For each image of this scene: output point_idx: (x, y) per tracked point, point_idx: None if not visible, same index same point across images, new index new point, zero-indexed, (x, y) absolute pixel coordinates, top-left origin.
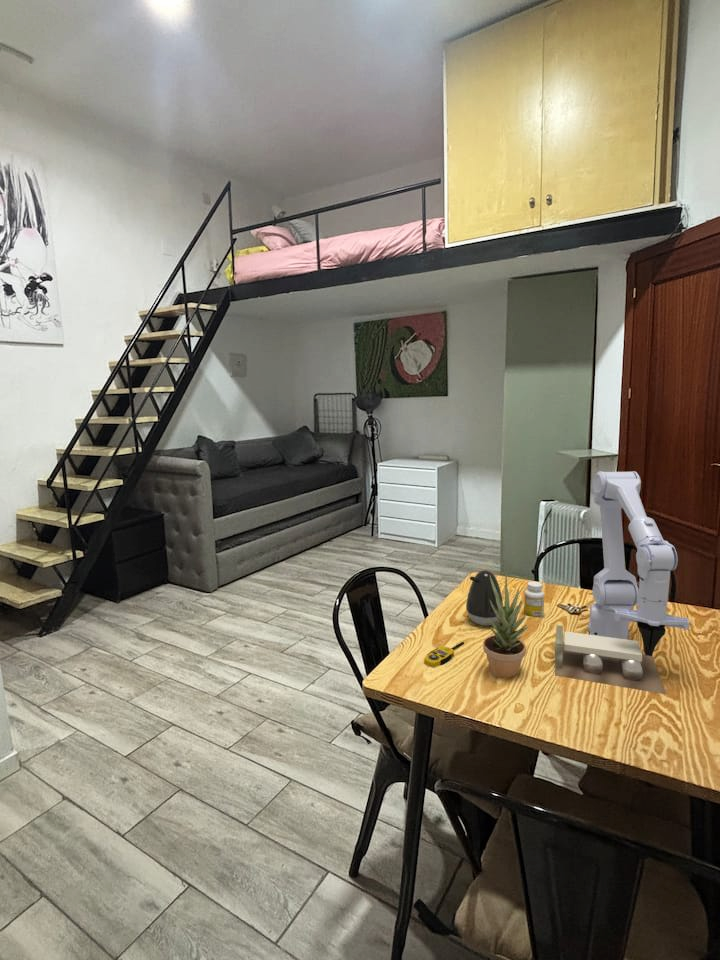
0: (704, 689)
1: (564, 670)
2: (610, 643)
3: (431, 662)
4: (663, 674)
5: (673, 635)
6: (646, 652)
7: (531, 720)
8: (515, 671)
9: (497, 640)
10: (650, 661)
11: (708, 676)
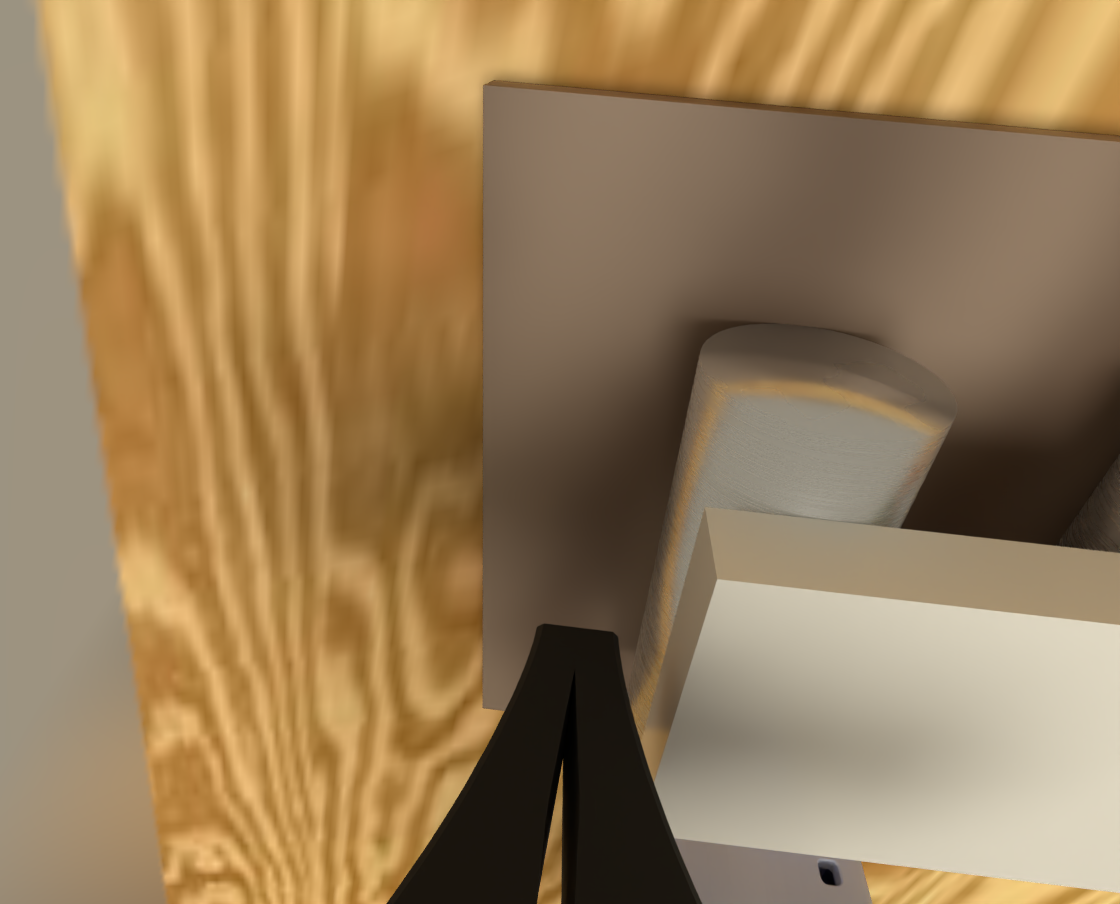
0: (141, 366)
1: None
2: (1042, 784)
3: None
4: (442, 522)
5: (334, 865)
6: (609, 662)
7: None
8: None
9: None
10: (514, 644)
11: (134, 548)
